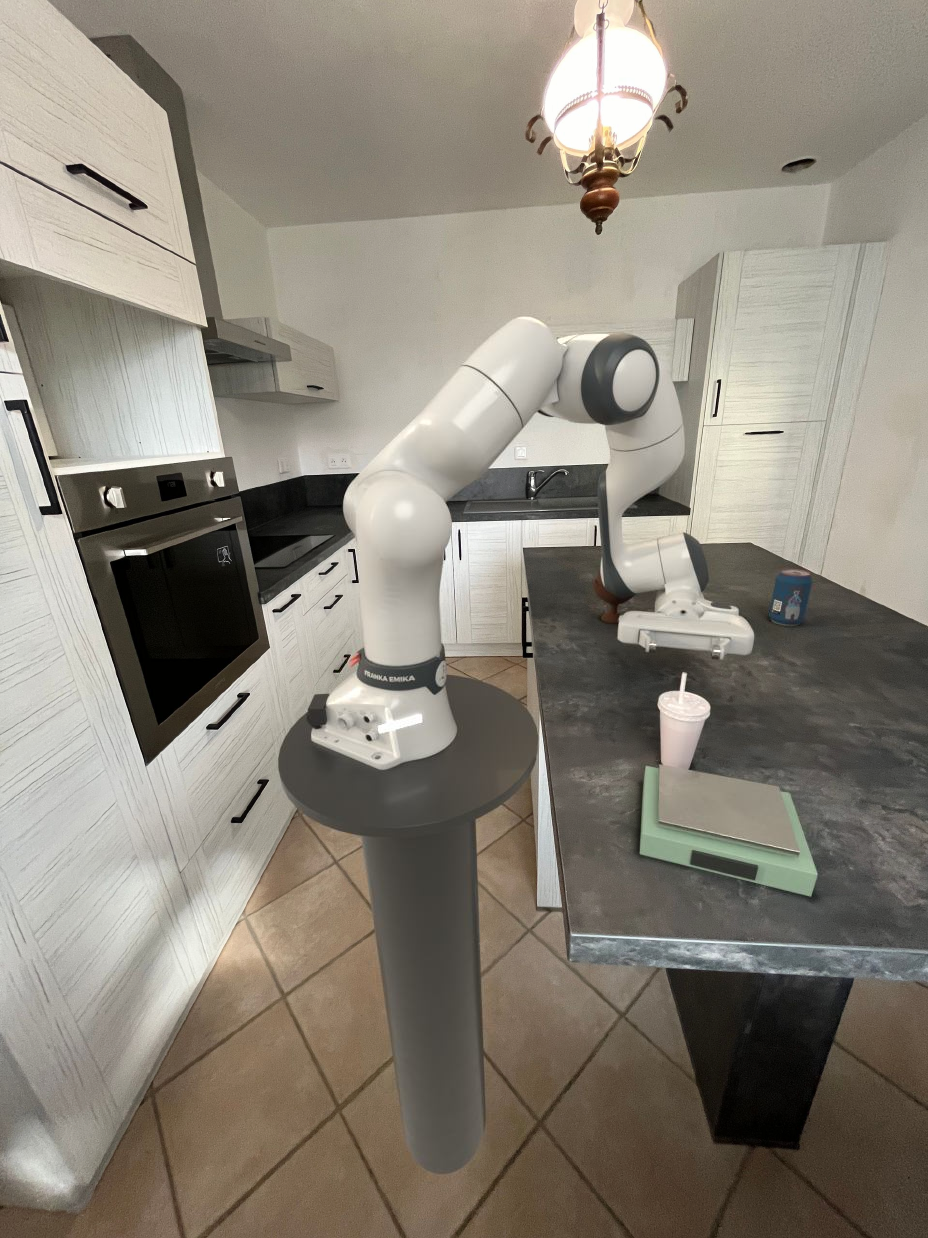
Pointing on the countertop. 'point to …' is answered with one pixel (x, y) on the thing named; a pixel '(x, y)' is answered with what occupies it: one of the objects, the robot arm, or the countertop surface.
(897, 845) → the countertop surface
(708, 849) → the kitchen scale
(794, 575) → the soda can
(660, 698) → the smoothie
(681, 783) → the scale pan
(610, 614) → the ice cream bowl
